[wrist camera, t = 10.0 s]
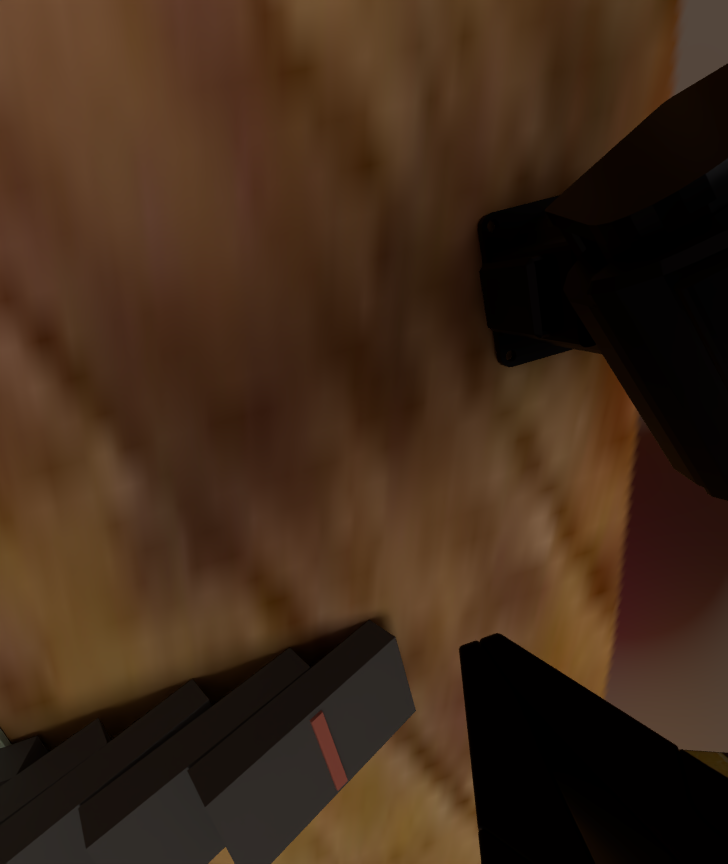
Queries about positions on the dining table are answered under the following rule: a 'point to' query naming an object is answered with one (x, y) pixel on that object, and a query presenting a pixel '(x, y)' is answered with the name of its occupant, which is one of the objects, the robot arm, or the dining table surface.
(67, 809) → the domino
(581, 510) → the dining table surface
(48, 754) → the domino
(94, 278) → the dining table surface
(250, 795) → the domino
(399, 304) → the dining table surface
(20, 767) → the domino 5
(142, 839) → the domino
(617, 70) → the dining table surface
